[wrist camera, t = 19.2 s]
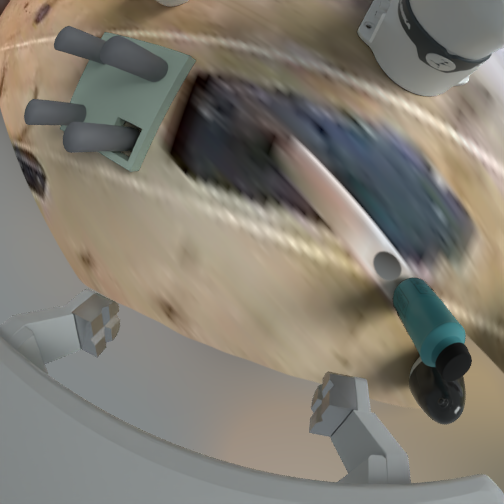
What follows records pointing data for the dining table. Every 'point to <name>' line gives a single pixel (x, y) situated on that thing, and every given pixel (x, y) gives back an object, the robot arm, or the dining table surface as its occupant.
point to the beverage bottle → (432, 329)
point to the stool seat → (116, 88)
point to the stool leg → (99, 137)
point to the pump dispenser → (437, 393)
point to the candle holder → (171, 2)
